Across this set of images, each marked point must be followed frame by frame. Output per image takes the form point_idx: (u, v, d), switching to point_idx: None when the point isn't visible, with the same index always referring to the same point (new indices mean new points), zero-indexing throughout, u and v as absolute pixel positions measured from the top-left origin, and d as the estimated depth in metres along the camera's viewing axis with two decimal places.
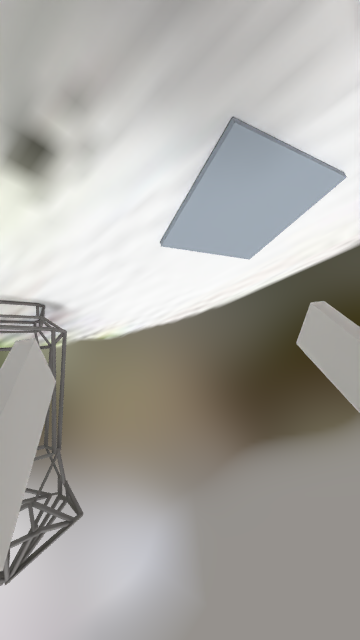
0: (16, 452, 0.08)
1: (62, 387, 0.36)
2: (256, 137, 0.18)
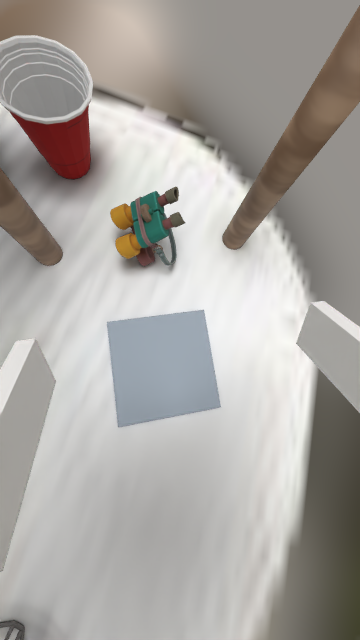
0: (16, 452, 0.08)
1: None
2: (123, 321, 0.33)
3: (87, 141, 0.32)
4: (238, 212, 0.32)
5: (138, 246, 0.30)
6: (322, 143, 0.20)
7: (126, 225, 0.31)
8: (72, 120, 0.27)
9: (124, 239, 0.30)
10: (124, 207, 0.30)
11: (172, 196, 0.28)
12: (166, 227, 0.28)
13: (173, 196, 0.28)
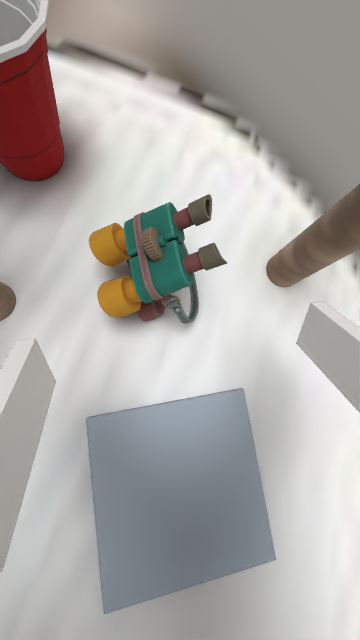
0: (16, 452, 0.08)
1: None
2: (114, 416, 0.20)
3: (51, 117, 0.19)
4: (310, 237, 0.18)
5: (139, 300, 0.17)
6: None
7: (118, 260, 0.18)
8: (8, 66, 0.14)
9: (113, 289, 0.17)
10: (113, 230, 0.17)
11: (202, 213, 0.15)
12: (190, 270, 0.15)
13: (204, 213, 0.15)
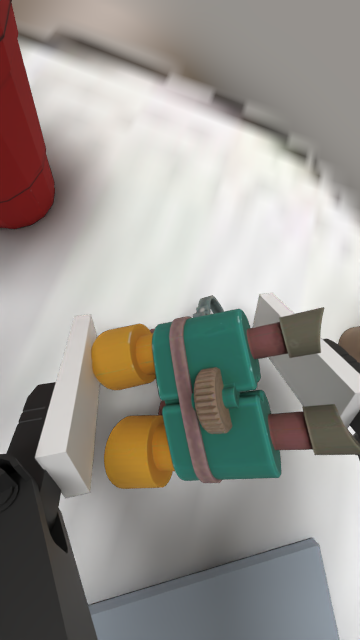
0: (89, 404, 0.09)
1: None
2: (127, 609, 0.13)
3: (31, 144, 0.12)
4: None
5: None
6: None
7: (138, 385, 0.11)
8: None
9: (132, 455, 0.09)
10: (132, 344, 0.10)
11: (313, 348, 0.08)
12: None
13: (316, 347, 0.08)
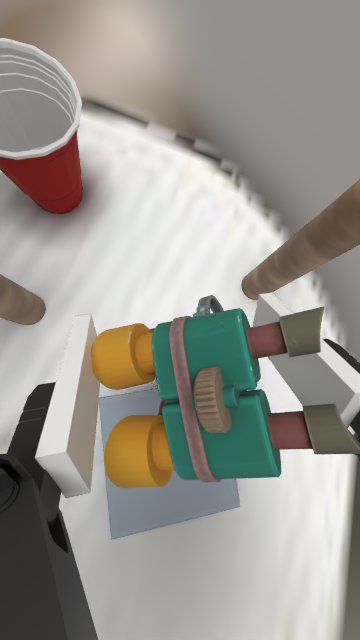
0: (89, 404, 0.09)
1: None
2: (119, 397, 0.27)
3: (76, 172, 0.25)
4: (267, 266, 0.25)
5: None
6: None
7: (138, 384, 0.11)
8: (53, 152, 0.20)
9: (132, 455, 0.09)
10: (132, 344, 0.10)
11: (313, 347, 0.08)
12: None
13: (316, 346, 0.08)
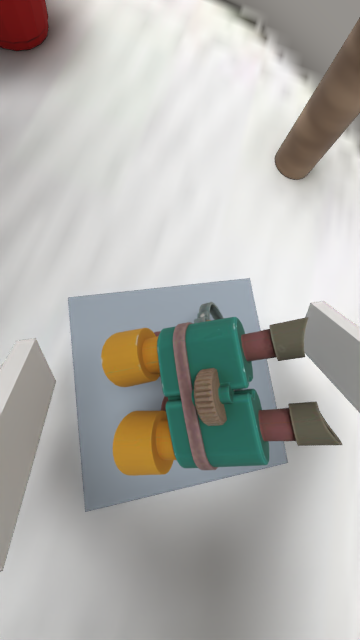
0: (16, 452, 0.08)
1: None
2: (100, 297, 0.17)
3: None
4: (329, 75, 0.16)
5: None
6: None
7: None
8: None
9: (138, 445, 0.10)
10: (139, 346, 0.11)
11: (298, 353, 0.09)
12: None
13: (301, 352, 0.09)
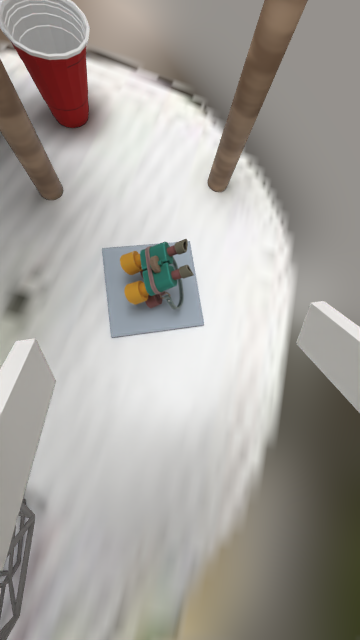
0: (16, 452, 0.08)
1: None
2: (116, 248, 0.37)
3: (85, 88, 0.37)
4: (218, 147, 0.36)
5: (147, 294, 0.30)
6: (278, 55, 0.24)
7: (135, 271, 0.32)
8: (71, 59, 0.31)
9: (133, 287, 0.30)
10: (133, 255, 0.31)
11: (181, 249, 0.28)
12: (175, 278, 0.29)
13: (182, 249, 0.28)
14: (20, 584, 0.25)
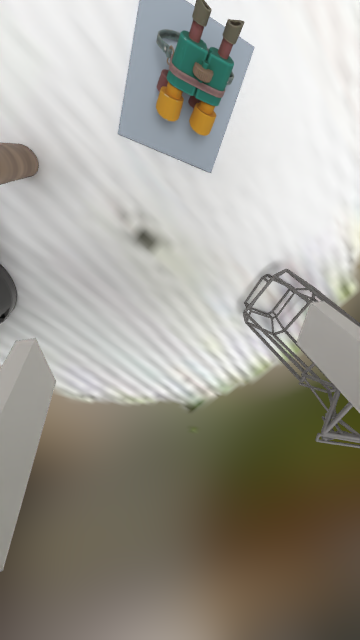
0: (16, 452, 0.08)
1: (317, 295, 0.38)
2: (123, 113, 0.31)
3: None
4: None
5: (214, 107, 0.27)
6: None
7: None
8: None
9: (202, 120, 0.28)
10: (169, 96, 0.26)
11: (208, 14, 0.21)
12: (228, 55, 0.23)
13: (208, 12, 0.21)
14: (306, 283, 0.47)
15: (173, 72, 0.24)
